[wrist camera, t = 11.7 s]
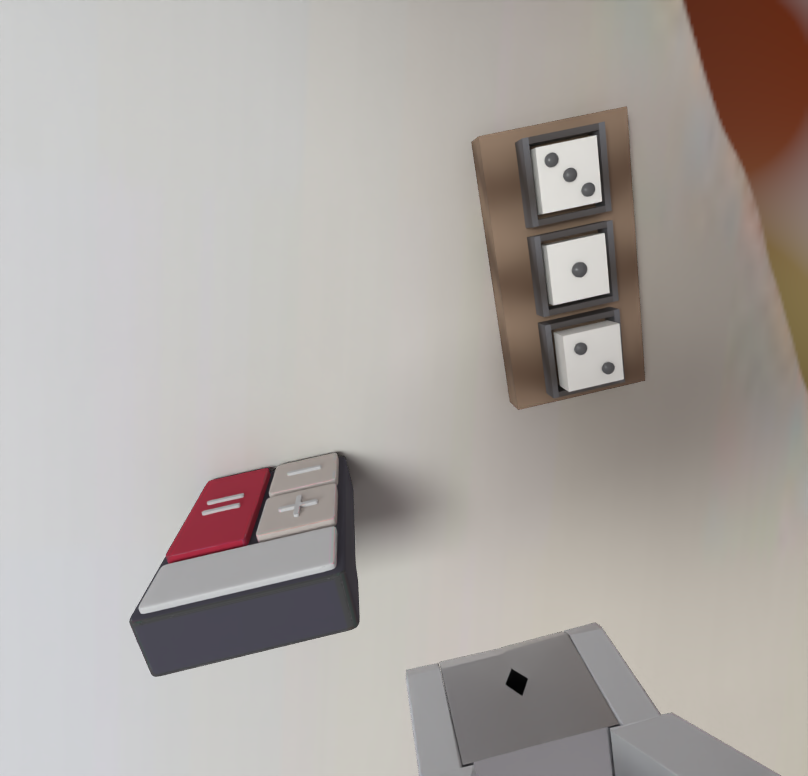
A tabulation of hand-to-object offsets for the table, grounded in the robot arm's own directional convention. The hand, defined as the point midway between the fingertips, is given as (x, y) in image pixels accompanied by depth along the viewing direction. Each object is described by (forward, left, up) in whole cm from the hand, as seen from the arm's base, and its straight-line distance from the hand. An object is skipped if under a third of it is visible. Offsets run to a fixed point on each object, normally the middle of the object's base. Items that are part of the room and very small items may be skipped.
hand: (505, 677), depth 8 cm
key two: (+4, +14, -28) cm, 32 cm away
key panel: (-2, +14, -31) cm, 34 cm away
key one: (-2, +14, -29) cm, 32 cm away
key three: (-8, +14, -29) cm, 33 cm away
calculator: (+10, -10, -31) cm, 34 cm away
